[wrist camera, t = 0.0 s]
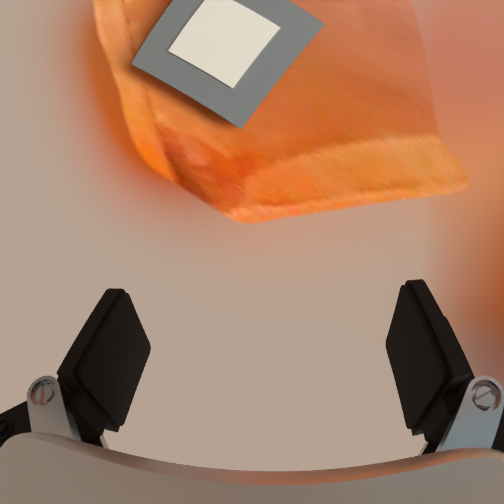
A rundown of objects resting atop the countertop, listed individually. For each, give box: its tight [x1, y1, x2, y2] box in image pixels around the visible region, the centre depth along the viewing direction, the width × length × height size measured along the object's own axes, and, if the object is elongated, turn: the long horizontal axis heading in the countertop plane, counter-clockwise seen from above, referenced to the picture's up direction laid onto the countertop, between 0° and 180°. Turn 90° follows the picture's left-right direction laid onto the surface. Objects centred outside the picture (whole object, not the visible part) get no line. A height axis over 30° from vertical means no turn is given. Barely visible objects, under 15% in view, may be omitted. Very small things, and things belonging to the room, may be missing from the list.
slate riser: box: [131, 0, 325, 129], centre depth 28 cm, size 16×16×4 cm
